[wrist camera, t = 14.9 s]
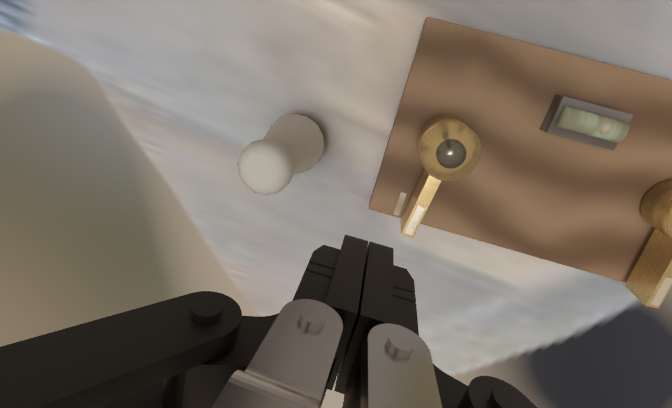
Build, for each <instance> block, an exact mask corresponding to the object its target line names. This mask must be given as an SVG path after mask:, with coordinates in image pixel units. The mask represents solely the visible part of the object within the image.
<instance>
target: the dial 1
mask: <svg viewBox="0 0 672 408" xmlns="http://www.w3.org/2000/svg"><path fill="white" fill-rule="evenodd" d="M417 146H418V151H419V155H420V158H421V162H422V165H423V167H424V172H423V174H422V176H421V178H420V180H419V182H418V184H417V186H416V188H415V191H414V193H413V195H412V197H411V199H410V201H409V203H408V205H407V207H406V209H405V212H404V214H403V216H402V218H401V234H403V235H406V236H408V237H411V238H413V237H414V235H415V233H416V231H417V229H418V227H419V225H420V223H421V221H422V219H423V217H424V215H425V213H426V211H427V209H428V207H429V205H430V203H431V201H432V199H433V197H434V195H435V193H436V191H437V189H438V187H439V185H440V183H441V181H456V180H459V179H462V178H464V177H466V176H468V175H469V174H470V173H471V172H472V171H473V170H474V169H475V168H476V166H477V165H478V163H479V161H480V158H481V150H482V149H481V143H480V140H479V138H478V136H477V135H476V133H475V132H474V131H473V130H472V129H470V128H469V127H468V126H467V125H466V124H465V123H464V122H463V121H462V120H460V119H459V118H457V117H454V116H450V115H441V116H437V117H434V118H432V119H431V120H429V121H428V122H427V123H425V124H424V126H423V127H422V128H421V130H420V132H419V135H418V138H417Z"/></svg>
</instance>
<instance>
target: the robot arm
mask: <svg viewBox="0 0 672 408" xmlns="http://www.w3.org/2000/svg"><path fill="white" fill-rule="evenodd" d="M367 245H368V247H367ZM414 293H415V287H414V280H413V278H412V277H411V275H410V274H409V272H408V271H407V269H404V268H401V267H398V266H394V265H393V248H390V247H387V246H383V245H380V244H376V243H373V242H369V244H368V241H366V240H362V239H359V238H355V237H352V236H349V235H345V237H344V240H343V244H342V247H341V250H339V249H336V248H333V247H329V246H326V245H323V246H321V247H320V248H318V249H316V250H315V251H314V252H313V254H312V256H311V259H310V261H309V263H308V266H307V268H306V271H305V273H304V275H303V277H302V280H301V282H300V284H299V287H298V289H297V291H296V294H295V296H294V298H293V301H291V302H289V303H287V304H286V305H285V306H284V307H283V308H282V310H281V311H280V313H279V314H276V315H272V316H266V317H252V316H242V313H241V309H240V307H239V305H238V304H237V303H236V302H235V301H234V300H233V299H232V298H230V297H228V296H226V295H224V294H221V293H217V292H210V291H203V292H195V293H190V294H187V295H183V296H180V297H177V298H173V299H169V300H166V301H162V302H159V303H155V304H152V305H148V306H144V307H141V308H138V309H134V310H130V311H127V312H123V313H120V314H116V315H112V316H109V317H105V318H102V319H99V320H94V321H91V322H88V323H84V324H80V325H77V326H73V327H70V328H66V329H63V330H59V331H55V332H52V333H48V334H45V335H41V336H38V337H34V338H31V339H27V340H24V341H20V342H16V343H13V344H9V345H6V346H2V347H0V408H320V407H321V405H322V402H323V399H324V396H325V393H326V390H327V389H330V390H332V388H333V385H334V382H335V379H336V376H337V380H336V387H335V391H337V392H340V393H343V394H345V395H344V402H343V407H342V408H537V407H536V406H535V405H534V404H533V403H532V402H531V401H530V400H529V399H528V398H526V396H525V395H523V394H522V393H521V392H520V391H519V390H518V389H516V388H515V387H513V386H512V385H510V384H508V383H507V382H505V381H503V380H500V379H498V378H494V377H490V376H480V377H476V378H474V379H473V380H472V381H471V383H470V384H469V386H467V385H465V384H463V383H462V382H460V381H458V380H456V379H454V378H453V377H451V376H449V375H447V374H446V373H444V372H443V371H441V370H440V369H439V368H437V367H436V366H435V365H434V364H433V362H432V358H431V353H430V350H429V348H428V346H427V345H426V343H425V342H424V341H423V340H422V339H421V338H420V337H419V333H418V322H417V310H416V304H415V302H416V299H415V294H414ZM337 373H338V375H337Z"/></svg>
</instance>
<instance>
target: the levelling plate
mask: <svg viewBox="0 0 672 408" xmlns="http://www.w3.org/2000/svg"><path fill="white" fill-rule="evenodd" d="M441 115H450V116H454V117H457V118H459V119H460V120H462V121H463V122H464V123H465V124H466V125H467V126H468V127H469V128H470V129H472V130H473V131H474V132H475V133H476V135H477V136H478V138H479V140H480V143H481V149H482V150H481V158H480V161H479V163H478V165H477V166H476V168H475V169H474V170H473V171H472V172H471V173H470V174H469V175H468V176H466V177H464V178H462V179H459V180H456V181H441V183H440V185H439V187H438V189H437V191H436V193H435V195H434V197H433V199H432V201H431V203H430V205H429V207H428V209H427V211H426V213H425V215H424V217H423V219H422V221H421V223H420V224H424V225H427V226H431V227H434V228H437V229H441V230H444V231H448V232H451V233H455V234H458V235H462V236H465V237H469V238H472V239H476V240H479V241H483V242H486V243H490V244H493V245H497V246H500V247H504V248H507V249H511V250H514V251H518V252H521V253H525V254H528V255H531V256H535V257H538V258H542V259H545V260H549V261H552V262H556V263H559V264H563V265H566V266H570V267H573V268H577V269H580V270H584V271H587V272H591V273H594V274H598V275H601V276H605V277H608V278H612V279H615V280H619V281H622V282H625V283H626V282H627V280H628V278H629V277H630V275H631V273H632V271H633V269H634V267H635V265H636V264H637V262H638V260H639V258H640V256H641V254H642V252H643V250H644V249H645V247H646V245H647V243H648V241H649V239H650V237H651V235H652V234H653V232H654V230H655V228H654V227H652V226H651V225H649V224H648V223H647V222H645V220H644V219H643V218H642V216H641V212H640V205H641V201H642V199H643V197H644V196H645V194H646V193H647V192H648V191H649V190H650V189H651V188H652V187H654V186H655V185H657V184H658V183H660V182H663V181H666V180H669V179H672V81H671V80H667V79H663V78H659V77H656V76H652V75H648V74H644V73H640V72H637V71H633V70H629V69H625V68H621V67H617V66H614V65H610V64H606V63H602V62H598V61H594V60H591V59H587V58H583V57H579V56H575V55H571V54H568V53H564V52H560V51H556V50H552V49H548V48H545V47H541V46H537V45H533V44H529V43H526V42H522V41H518V40H514V39H510V38H506V37H503V36H499V35H495V34H491V33H487V32H483V31H480V30H476V29H472V28H468V27H464V26H460V25H457V24H453V23H449V22H445V21H441V20H438V19H434V18H430V17H427V18H426V21H425V24H424V27H423V31H422V34H421V37H420V40H419V44H418V47H417V50H416V54H415V57H414V60H413V63H412V67H411V70H410V73H409V76H408V80H407V83H406V86H405V90H404V93H403V96H402V99H401V103H400V106H399V109H398V112H397V116H396V119H395V122H394V126H393V129H392V132H391V135H390V139H389V142H388V145H387V148H386V152H385V155H384V158H383V161H382V165H381V168H380V171H379V175H378V178H377V181H376V184H375V188H374V191H373V194H372V197H371V201H370V204H369V209H371V210H375V211H378V212H382V213H385V214H389V215H392V216H396V217H399V218H402V216H403V214H404V212H405V209H406V207H407V205H408V203H409V201H410V199H411V197H412V195H413V193H414V191H415V188H416V186H417V184H418V182H419V180H420V178H421V176H422V174H423V172H424V167H423V165H422V162H421V158H420V155H419V151H418V146H417V138H418V135H419V132H420V130H421V128H422V127H423V126H424V124H425V123H427V122H428V121H429V120H431V119H432V118H434V117H437V116H441Z"/></svg>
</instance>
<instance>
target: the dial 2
mask: <svg viewBox="0 0 672 408" xmlns="http://www.w3.org/2000/svg"><path fill="white" fill-rule="evenodd" d="M640 212H641V216H642V218H643V219H644V220H645V222H647V223H648V224H649V225H651V226H652V227H654V228H655V230H654V232H653V234H652V235H651V237H650V239H649V241H648V243H647V245H646V247H645V249H644V250H643V252H642V254H641V256H640V258H639V260H638V262H637V264H636V265H635V267H634V269H633V271H632V273H631V275H630V277H629V278H628V280H627V282H626V284H625V286H626V287H627V288H628V289H629V290H630V291H631V292H632V293H633V294H634V295H635V296H636V297H637V298H638V299H639V300H640V301H641V302H642V303H643V304H644V305H645V306H650V307H654V308H659V307H660V305H661V303H662V302H663V300H664V299H665V297H666V295H667V294H668V292H669V290H670V288H671V287H672V179H669V180H666V181H663V182H660V183H658V184H657V185H655V186H654V187H652V188H651V189H650V190H649V191H648V192H647V193H646V194H645V196H644V197H643V199H642V201H641V205H640Z"/></svg>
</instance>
